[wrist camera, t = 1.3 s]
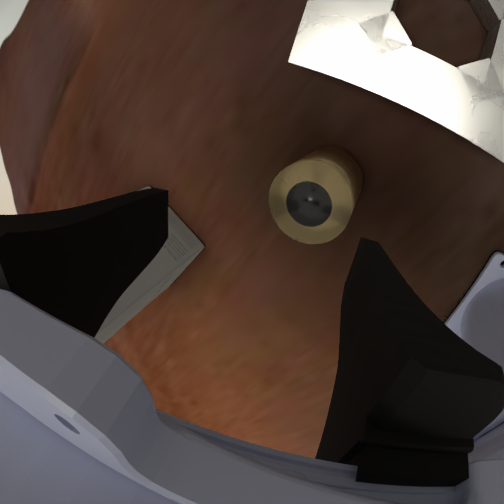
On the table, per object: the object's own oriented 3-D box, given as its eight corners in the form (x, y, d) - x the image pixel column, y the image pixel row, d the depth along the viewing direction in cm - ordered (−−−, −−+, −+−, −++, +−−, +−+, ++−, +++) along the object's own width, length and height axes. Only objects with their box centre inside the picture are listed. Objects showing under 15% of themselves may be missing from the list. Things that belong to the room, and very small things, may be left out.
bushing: (373, 161, 18) (365, 184, 13) (349, 217, 20) (331, 257, 15) (313, 136, 19) (282, 148, 14) (294, 191, 21) (258, 222, 16)
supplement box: (149, 182, 26) (22, 243, 16) (208, 246, 26) (95, 340, 16) (119, 232, 30) (17, 296, 20) (168, 288, 30) (75, 370, 20)
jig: (540, 4, 8) (558, -7, 5) (495, 158, 14) (511, 168, 12) (351, -79, 11) (342, -101, 8) (303, 67, 17) (288, 61, 15)
